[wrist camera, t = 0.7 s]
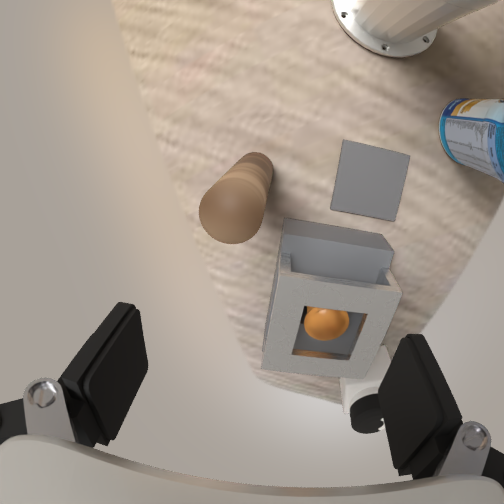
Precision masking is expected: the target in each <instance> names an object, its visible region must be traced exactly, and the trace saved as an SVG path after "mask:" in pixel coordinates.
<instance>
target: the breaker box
mask: <svg viewBox="0 0 504 504" xmlns="http://www.w3.org/2000/svg"><path fill="white" fill-rule="evenodd" d="M281 252H287V253H290V257H291V272H296V273H303V274H310V275H316V276H323V277H330V278H337V279H344V280H351V281H358V282H365V283H372V284H375V283H376V280H377V277H378V274H379V271H380V268H381V267H383V268H389V267H390V264H391V261H392V257H393V254H394V251H393V249H392V248H391V246H390V245H389V244H388V242H387V241H386V239H385V238H384V237H383V235H382V234H377V233H372V232H366V231H361V230H355V229H350V228H344V227H338V226H332V225H326V224H320V223H314V222H308V221H302V220H296V219H289V218H284V223H283V229H282V235H281V241H280V246H279V252H278V258H277V264H276V270H275V275H274V281H273V287H272V292H271V298H270V303H269V309H268V314H267V320H266V325H265V332H264V340H265V335H266V334H268V330H269V325H270V320H271V314H272V309H273V304H274V299H275V293H276V288H277V283H278V273H279V259H280V253H281ZM347 313H348V316H349V325H348V328H347V329H346V331H345V332H344V333H343V334H342V335H341V336H339V337H337V338H335V339H332V340H327V341H322V340H317V339H314V338H312V337H311V336H309V335H308V333H307V332H306V330H305V327H304V319H305V316H306V314H307V306H304V309H303V313H302V317H301V321H300V324H299V328H298V332H297V336H296V339H295V343H294V347H293V349H300V350H309V351H317V352H327V353H337V354H348V353H349V350H350V348H351V345H352V343H353V341H354V338H355V336H356V333H357V330H358V328H359V325H360V323H361V320H362V317H363V315H364V313H357V312H349V311H347ZM263 349H264V341H263ZM263 349H262V352H263Z"/></svg>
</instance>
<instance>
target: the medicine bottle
mask: <svg viewBox="0 0 504 504" xmlns="http://www.w3.org/2000/svg"><path fill="white" fill-rule="evenodd" d="M390 363H391V360H390V357H389V354H388V351H387V348H386V346H385V345H383V346H380V347H379V349H378V351H377V354H376V356H375V358H374V360H373V362H372V364H371V366H370V368H369V370H368V372H367V374H366V376H365V378H364V379H354V378H340V380H339V382H340V389H341V397H342V405H343V412H344V414H350V417H351V425H352V428H353V429H354V430H355V431H357V432H359V433H365V434H368V433H375V432H378V431H381V430H383V429H385V424H384V420H383V416H382V411H381V407H380V403H379V399H378V389H379V386H380V384H381V382H382V380H383V378H384V376H385V374H386V372H387V370H388V368H389V366H390Z"/></svg>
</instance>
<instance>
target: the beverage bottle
mask: <svg viewBox="0 0 504 504" xmlns="http://www.w3.org/2000/svg"><path fill="white" fill-rule="evenodd" d="M439 136H440V140H441V143H442V146H443V148H444V149H445V151H446V153H447V154H448V155H449V156H450V157H451V158H452V159H453V160H454V161H456V162H458V163H460V164H462V165H465V166H468V167H471V168H474V169H476V170H478V171H481V172H483V173H485V174H488V175H490V176H492V177H494V178H497V179H498V180H500V181H501V182H503V183H504V98H503V99H465V98H463V99H456V100H453V101H451V102H450V103H449V104H448V105H447V106H446V107H445V108H444V110H443V111H442V114H441V116H440V120H439Z"/></svg>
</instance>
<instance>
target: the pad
mask: <svg viewBox="0 0 504 504" xmlns="http://www.w3.org/2000/svg"><path fill="white" fill-rule="evenodd" d="M409 158H410V156H409V155H405V154H402V153H398V152H394V151H390V150H387V149H383V148H378V147H374V146H370V145H366V144H361V143H357V142H352V141H348V140H343V142H342V148H341V154H340V160H339V165H338V171H337V176H336V181H335V187H334V192H333V197H332V202H331V207H330V209H332V210H337V211H343V212H348V213H354V214H359V215H364V216H370V217H375V218H380V219H385V220H390V221H395V218H396V214H397V210H398V206H399V202H400V198H401V194H402V190H403V186H404V181H405V177H406V172H407V168H408V163H409Z"/></svg>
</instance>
